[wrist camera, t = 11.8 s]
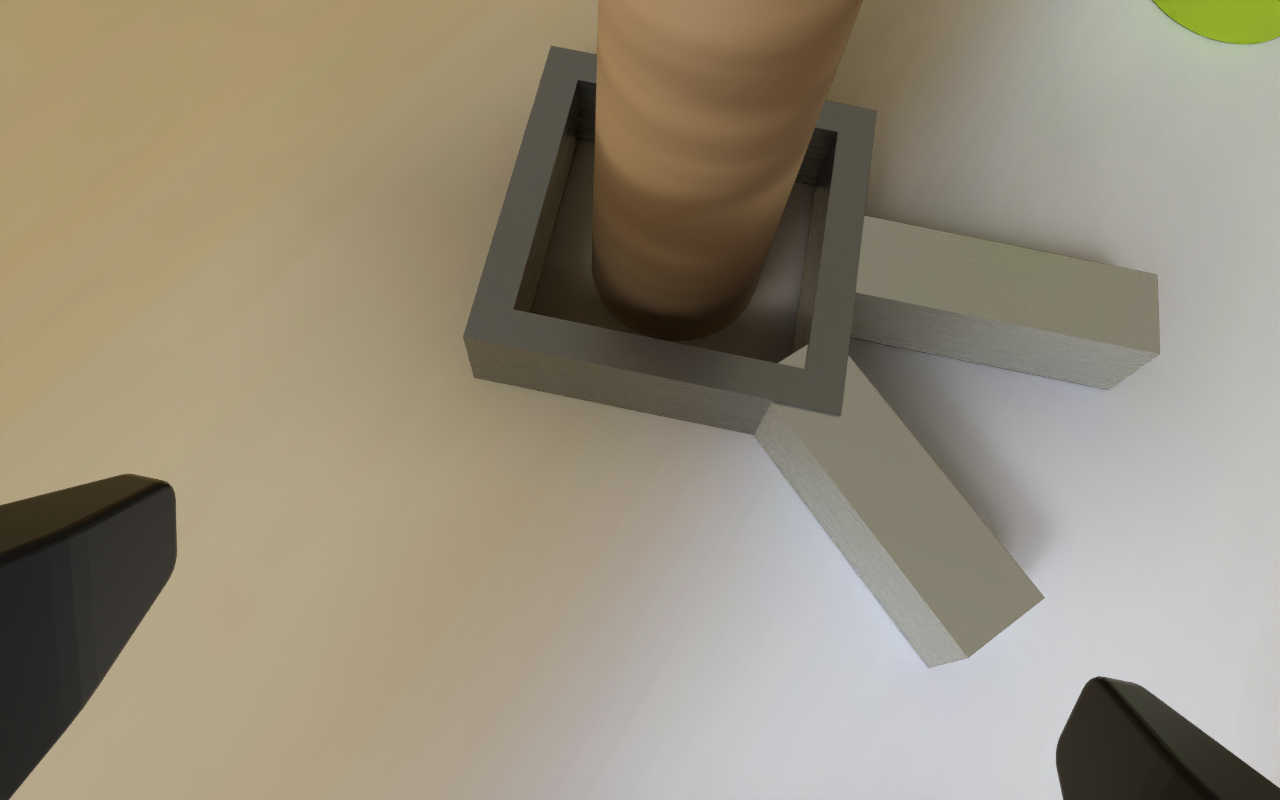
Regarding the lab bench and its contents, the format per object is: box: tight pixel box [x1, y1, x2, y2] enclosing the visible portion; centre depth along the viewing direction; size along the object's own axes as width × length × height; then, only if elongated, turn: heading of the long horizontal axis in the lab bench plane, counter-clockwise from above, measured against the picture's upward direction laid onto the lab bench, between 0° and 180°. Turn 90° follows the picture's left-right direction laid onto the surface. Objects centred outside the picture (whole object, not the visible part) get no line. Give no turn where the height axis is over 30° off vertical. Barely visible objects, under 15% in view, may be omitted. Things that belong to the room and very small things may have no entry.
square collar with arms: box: [463, 46, 1160, 668], centre depth 24 cm, size 14×17×2 cm
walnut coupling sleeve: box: [592, 0, 863, 340], centre depth 20 cm, size 5×5×13 cm
